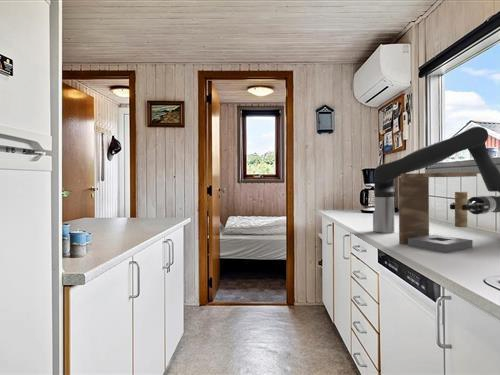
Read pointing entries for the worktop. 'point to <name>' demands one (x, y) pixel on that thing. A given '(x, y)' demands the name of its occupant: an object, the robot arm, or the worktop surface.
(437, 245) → the socket plate
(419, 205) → the wooden l bracket
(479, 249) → the worktop surface
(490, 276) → the worktop surface
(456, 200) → the wooden peg
